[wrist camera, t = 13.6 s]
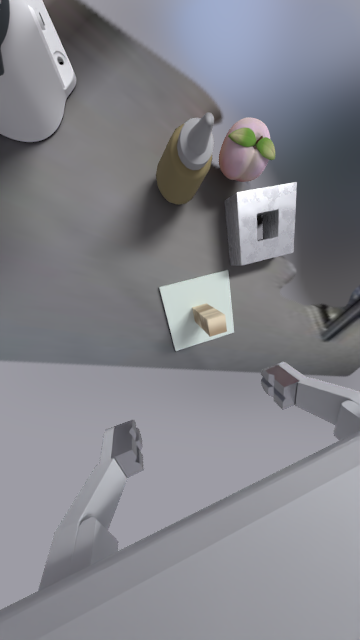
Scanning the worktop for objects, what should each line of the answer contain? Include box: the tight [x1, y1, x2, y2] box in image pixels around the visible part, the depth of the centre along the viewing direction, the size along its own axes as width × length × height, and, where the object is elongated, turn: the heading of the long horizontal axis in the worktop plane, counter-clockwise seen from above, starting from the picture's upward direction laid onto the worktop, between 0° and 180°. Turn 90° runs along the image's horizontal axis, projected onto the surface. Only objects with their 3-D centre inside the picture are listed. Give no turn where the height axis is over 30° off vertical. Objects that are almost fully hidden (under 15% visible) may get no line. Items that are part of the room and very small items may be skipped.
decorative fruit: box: [219, 118, 275, 182], centre depth 31 cm, size 9×8×10 cm
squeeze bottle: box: [156, 113, 214, 205], centre depth 26 cm, size 8×8×18 cm
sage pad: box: [159, 270, 234, 351], centre depth 45 cm, size 18×18×1 cm
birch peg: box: [192, 303, 227, 337], centre depth 40 cm, size 4×4×10 cm
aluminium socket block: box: [225, 182, 297, 266], centre depth 39 cm, size 14×14×5 cm
